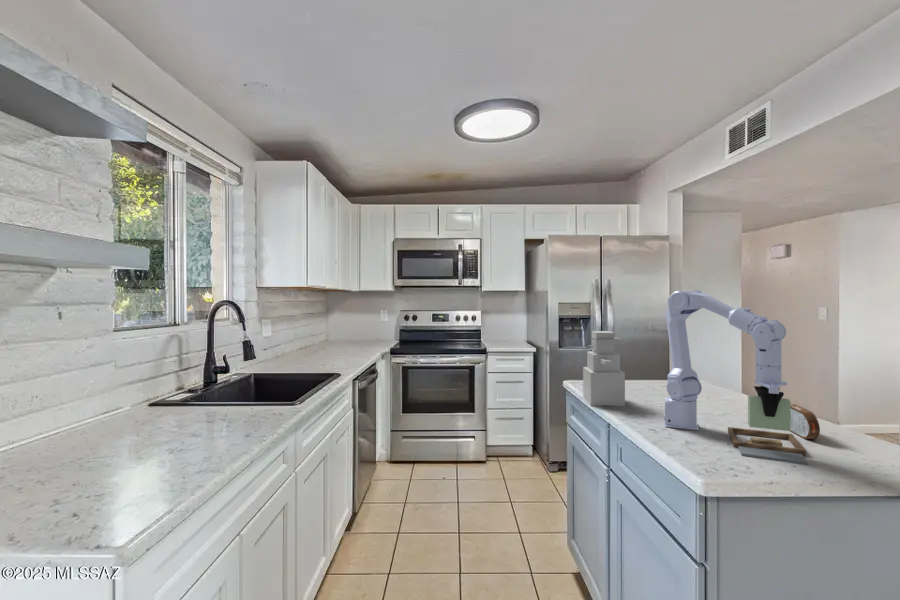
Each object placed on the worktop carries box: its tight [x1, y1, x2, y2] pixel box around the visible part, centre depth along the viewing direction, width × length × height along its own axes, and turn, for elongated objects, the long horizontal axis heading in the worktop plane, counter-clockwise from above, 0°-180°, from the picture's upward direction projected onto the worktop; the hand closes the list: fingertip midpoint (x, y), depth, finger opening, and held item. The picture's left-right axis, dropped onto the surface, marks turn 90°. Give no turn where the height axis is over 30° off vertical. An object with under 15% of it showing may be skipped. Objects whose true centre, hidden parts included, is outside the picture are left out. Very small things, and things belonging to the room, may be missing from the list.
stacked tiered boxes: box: [582, 330, 626, 407], centre depth 175 cm, size 13×24×28 cm, turn 175°
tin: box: [789, 403, 821, 441], centre depth 132 cm, size 15×3×8 cm, turn 168°
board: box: [747, 395, 791, 432], centre depth 119 cm, size 9×3×8 cm, turn 63°
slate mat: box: [737, 446, 809, 465], centre depth 116 cm, size 14×6×1 cm, turn 63°
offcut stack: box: [746, 436, 784, 447], centre depth 123 cm, size 8×2×2 cm, turn 63°
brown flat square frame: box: [727, 426, 807, 457], centre depth 125 cm, size 16×15×2 cm
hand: (768, 414), depth 119 cm, fingers closed on board, 3 cm apart
